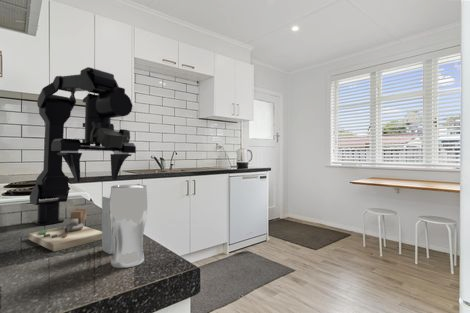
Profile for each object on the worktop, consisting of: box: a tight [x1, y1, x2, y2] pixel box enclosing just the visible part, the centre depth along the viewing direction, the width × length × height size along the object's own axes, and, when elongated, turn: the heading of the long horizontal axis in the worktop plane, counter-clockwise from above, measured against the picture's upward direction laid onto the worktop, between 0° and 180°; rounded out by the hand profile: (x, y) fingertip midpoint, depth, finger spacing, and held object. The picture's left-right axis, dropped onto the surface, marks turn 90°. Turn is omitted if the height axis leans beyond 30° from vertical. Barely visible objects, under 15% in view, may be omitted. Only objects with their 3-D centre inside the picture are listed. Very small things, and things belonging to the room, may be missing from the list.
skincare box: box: [101, 195, 114, 255], centre depth 58 cm, size 6×4×12 cm
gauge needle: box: [63, 207, 88, 233], centre depth 69 cm, size 13×4×4 cm, turn 16°
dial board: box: [27, 225, 102, 252], centre depth 65 cm, size 14×12×2 cm
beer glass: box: [109, 184, 148, 269], centre depth 51 cm, size 7×7×15 cm
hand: (97, 180), depth 66 cm, fingers open, 9 cm apart
